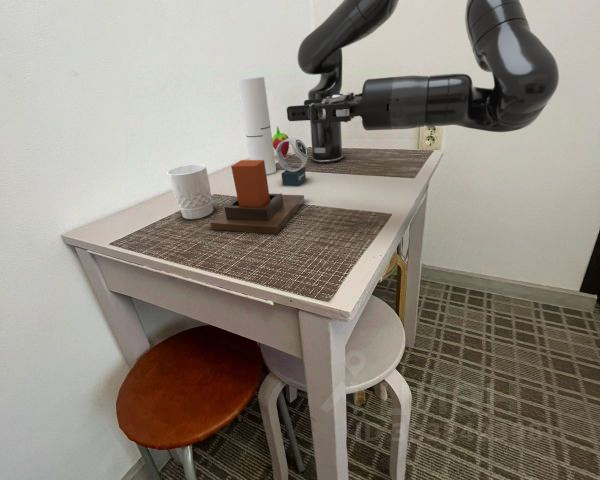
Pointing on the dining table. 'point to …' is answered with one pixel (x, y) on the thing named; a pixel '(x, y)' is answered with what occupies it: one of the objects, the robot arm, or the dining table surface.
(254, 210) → the brown square tray
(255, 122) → the cylindrical container
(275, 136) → the strawberry
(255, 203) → the brown rectangular block
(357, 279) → the dining table surface
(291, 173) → the watch
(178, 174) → the white cup
